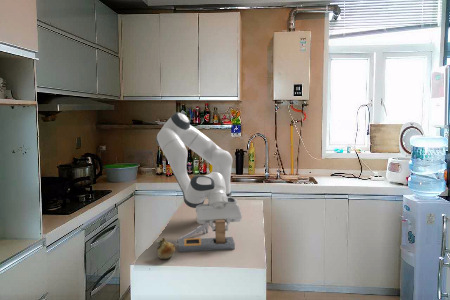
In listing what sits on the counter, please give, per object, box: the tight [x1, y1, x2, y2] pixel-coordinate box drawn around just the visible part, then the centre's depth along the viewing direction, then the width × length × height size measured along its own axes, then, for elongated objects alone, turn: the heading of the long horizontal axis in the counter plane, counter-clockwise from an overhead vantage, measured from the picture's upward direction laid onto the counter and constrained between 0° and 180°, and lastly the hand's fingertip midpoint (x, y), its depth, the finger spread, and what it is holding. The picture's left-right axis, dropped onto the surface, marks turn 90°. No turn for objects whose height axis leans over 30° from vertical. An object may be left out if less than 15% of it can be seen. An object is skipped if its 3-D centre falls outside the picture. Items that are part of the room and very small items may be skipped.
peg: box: [214, 220, 226, 243], centre depth 167 cm, size 4×4×10 cm
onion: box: [155, 237, 176, 260], centre depth 154 cm, size 8×8×8 cm
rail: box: [178, 236, 236, 253], centre depth 166 cm, size 9×24×3 cm, turn 95°
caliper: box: [174, 223, 209, 244], centre depth 180 cm, size 20×1×6 cm, turn 137°
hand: (220, 230), depth 166 cm, fingers closed on peg, 4 cm apart
